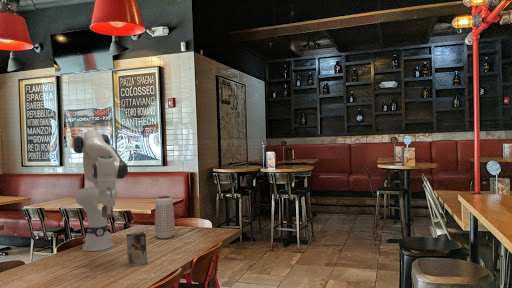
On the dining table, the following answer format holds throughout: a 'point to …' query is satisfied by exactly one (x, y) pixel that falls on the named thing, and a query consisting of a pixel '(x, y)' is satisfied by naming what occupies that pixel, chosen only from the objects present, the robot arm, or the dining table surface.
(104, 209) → the walnut block
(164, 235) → the grey textured vase
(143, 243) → the coffee box
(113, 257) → the dining table surface
